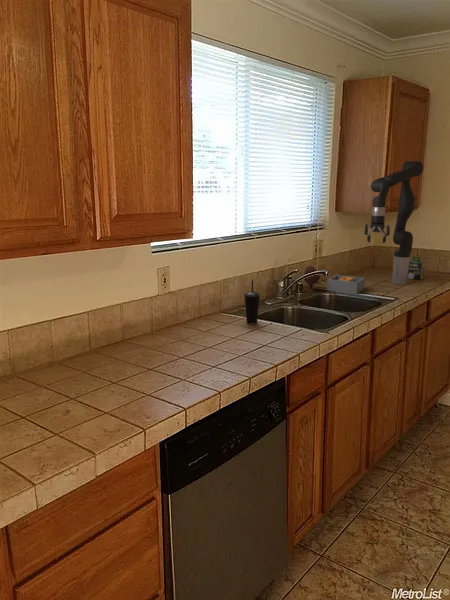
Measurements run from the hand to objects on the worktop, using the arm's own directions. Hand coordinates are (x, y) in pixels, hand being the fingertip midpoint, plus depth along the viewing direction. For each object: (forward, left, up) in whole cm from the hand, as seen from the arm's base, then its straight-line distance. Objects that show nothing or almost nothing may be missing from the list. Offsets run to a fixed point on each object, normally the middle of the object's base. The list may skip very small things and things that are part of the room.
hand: (376, 242), depth 304 cm
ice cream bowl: (+25, -30, -28) cm, 48 cm away
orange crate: (+12, -13, -27) cm, 32 cm away
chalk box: (-47, +15, -28) cm, 57 cm away
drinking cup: (+103, -28, -28) cm, 110 cm away
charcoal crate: (+12, -13, -28) cm, 33 cm away
